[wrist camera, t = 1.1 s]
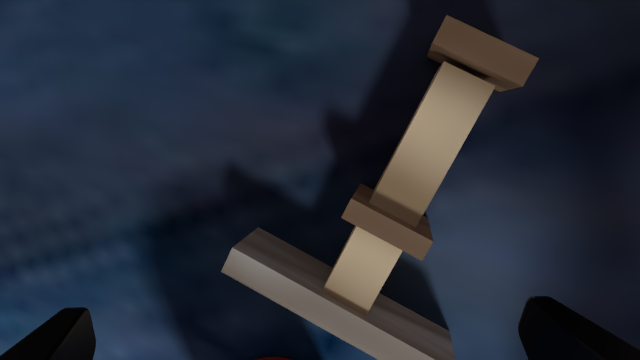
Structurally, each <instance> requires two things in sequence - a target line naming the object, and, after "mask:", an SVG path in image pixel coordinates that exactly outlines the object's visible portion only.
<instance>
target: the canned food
mask: <svg viewBox="0 0 640 360" xmlns="http://www.w3.org/2000/svg"><path fill="white" fill-rule="evenodd" d="M255 360H292V359H288V358H282V357H264V358H260V359H255Z"/></svg>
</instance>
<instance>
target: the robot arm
mask: <svg viewBox="0 0 640 360" xmlns="http://www.w3.org/2000/svg"><path fill="white" fill-rule="evenodd" d="M518 332H519V337H520V339H521V342H522V344H523V347H524V349H525V352H526V355H527V357H528V360H640V350H638V349H637V348H635V347H633V346H632V345H630V344H628V343H627V342H625V341H623V340H622V339H620V338H618V337H617V336H615V335H613V334H612V333H610V332H608V331H606V330H605V329H603V328H601V327H600V326H598V325H596V324H595V323H593V322H591V321H590V320H588V319H586V318H585V317H583V316H581V315H580V314H578V313H576V312H574V311H573V310H571V309H569V308H568V307H566V306H564V305H563V304H561V303H559V302H558V301H556V300H554V299H553V298H551V297H548V296H533V297H530V298H529V299H528V300H527V302H526V304H525V307H524V310H523V313H522V316H521V319H520V322H519V325H518ZM95 347H96V339H95V334H94V329H93V324H92V320H91V315H90V312H89V310H88V309H87V308H84V307H77V308H64V309H62V310H61V311H59V312H58V313H57V314H55V315H54V316H53V317H51V318H50V319H49V320H47V321H46V322H45V323H43V324H42V325H41V326H39V327H38V328H37V329H35V330H34V331H33V332H31V333H30V334H29V335H27V336H26V337H25V338H23V339H22V340H21V341H19V342H18V343H17V344H16V345H14V346H13V347H12V348H10V349H9V350H8V351H6V352H5V353H4V354H2V355H1V356H0V360H93V356H94V352H95Z"/></svg>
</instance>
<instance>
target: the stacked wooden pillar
mask: <svg viewBox="0 0 640 360" xmlns="http://www.w3.org/2000/svg"><path fill="white" fill-rule="evenodd" d="M427 57H428V58H430V59H432V60H434V61H436V62H438V63H440V64H442V65H441V66H440V67H439V69H438V70H437V72H436V74H435V76H434V78H433V80H432V81H431V83H430V85H429V87H428V89H427V91H426V93H425V95H424V97H423V98H422V100H421V102H420V104H419V106H418V108H417V110H416V112H415V113H414V115H413V117H412V119H411V121H410V123H409V125H408V127H407V129H406V130H405V132H404V134H403V136H402V138H401V140H400V142H399V144H398V146H397V147H396V149H395V151H394V153H393V155H392V157H391V159H390V161H389V162H388V164H387V166H386V168H385V170H384V172H383V174H382V176H381V178H380V179H379V181H378V183H377V185H376V187H375V189H374V190H373V189H371V188H369V187H367V186H365V185H363V184H361V183H360V185H359V187H358V188H357V190H356V191H355V193H354V195H353V196H352V198H351V200H350V202H349V204H348V205H347V207H346V209H345V211H344V213H343V215H342V217H341V218H342V219H344V220H346V221H348V222H350V223H352V224H353V225H355V227H354V228H353V230H352V232H351V234H350V236H349V238H348V240H347V242H346V244H345V245H344V247H343V249H342V251H341V253H340V255H339V257H338V259H337V261H336V262H335V264H334V266H333V268H332V267H330V266H329V265H327V264H325V263H323V262H321V261H319V260H318V259H316V258H314V257H312V256H310V255H308V254H307V253H305V252H303V251H301V250H299V249H297V248H296V247H294V246H292V245H290V244H288V243H286V242H285V241H283V240H281V239H279V238H277V237H275V236H273V235H272V234H270V233H268V232H266V231H264V230H262V229H261V228H259V227H258V228H257V229H255V230H254V231H253V232H252V233H250V234H249V235H248V236H246V237H245V238H244V239H243V240H241V241H240V242H239V243H237V244H236V245H235V246H234V247H232V249H231V251H230V254H229V256H228V258H227V260H226V262H225V264H224V266H223V268H222V271H221V272H223V273H224V274H226V275H228V276H230V277H232V278H233V279H235V280H237V281H239V282H240V283H242V284H244V285H246V286H248V287H249V288H251V289H253V290H255V291H256V292H258V293H260V294H262V295H264V296H265V297H267V298H269V299H271V300H273V301H274V302H276V303H278V304H280V305H281V306H283V307H285V308H287V309H289V310H290V311H292V312H294V313H296V314H298V315H299V316H301V317H303V318H305V319H306V320H308V321H310V322H312V323H314V324H315V325H317V326H319V327H321V328H322V329H324V330H326V331H328V332H330V333H331V334H333V335H335V336H337V337H339V338H340V339H342V340H344V341H346V342H347V343H349V344H351V345H353V346H355V347H356V348H358V349H360V350H362V351H364V352H365V353H367V354H369V355H371V356H372V357H374V358H376V359H378V360H455V355H454V350H453V345H452V341H451V336H450V331H448V330H446V329H444V328H442V327H441V326H439V325H437V324H435V323H433V322H431V321H430V320H428V319H426V318H424V317H422V316H420V315H419V314H417V313H415V312H413V311H411V310H409V309H408V308H406V307H404V306H402V305H400V304H398V303H397V302H395V301H393V300H391V299H389V298H387V297H386V296H384V295H382V294H380V293H379V292H380V290H381V288H382V287H383V285H384V283H385V281H386V279H387V278H388V276H389V274H390V272H391V271H392V269H393V267H394V265H395V263H396V262H397V260H398V258H399V256H400V255H401V253H402V251H404V252H406V253H408V254H410V255H412V256H414V257H416V258H417V259H419V260H421V261H422V260H423V259H424V257H425V255H426V253H427V252H428V250H429V248H430V246H431V245H432V243H433V238H432V234H431V230H430V225H429V221H428V218H427V217H425V216H423V214H424V212H425V210H426V209H427V207H428V205H429V203H430V201H431V200H432V198H433V196H434V194H435V193H436V191H437V189H438V187H439V186H440V184H441V182H442V180H443V178H444V177H445V175H446V173H447V171H448V170H449V168H450V166H451V164H452V162H453V161H454V159H455V157H456V155H457V154H458V152H459V150H460V148H461V147H462V145H463V143H464V141H465V139H466V138H467V136H468V134H469V132H470V131H471V129H472V127H473V125H474V123H475V122H476V120H477V118H478V116H479V115H480V113H481V111H482V109H483V108H484V106H485V104H486V102H487V100H488V99H489V97H490V95H491V93H492V92H493V90H496V91H498V92H501V91H506V90H510V89H514V88H519V87H523V86H524V84H525V82H526V80H527V79H528V77H529V75H530V74H531V72H532V70H533V68H534V67H535V65H536V63H537V61H538V60H539V58H537V57H535V56H533V55H531V54H529V53H527V52H524V51H522V50H520V49H518V48H516V47H514V46H512V45H510V44H507V43H505V42H503V41H501V40H499V39H497V38H495V37H493V36H490V35H488V34H486V33H484V32H482V31H480V30H478V29H476V28H473V27H471V26H469V25H467V24H465V23H463V22H461V21H459V20H456V19H454V18H452V17H450V16H448V15H446V17H445V19H444V21H443V23H442V25H441V27H440V29H439V31H438V33H437V35H436V36H435V38H434V40H433V42H432V44H431V47H430V49H429V52H428V54H427Z"/></svg>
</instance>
